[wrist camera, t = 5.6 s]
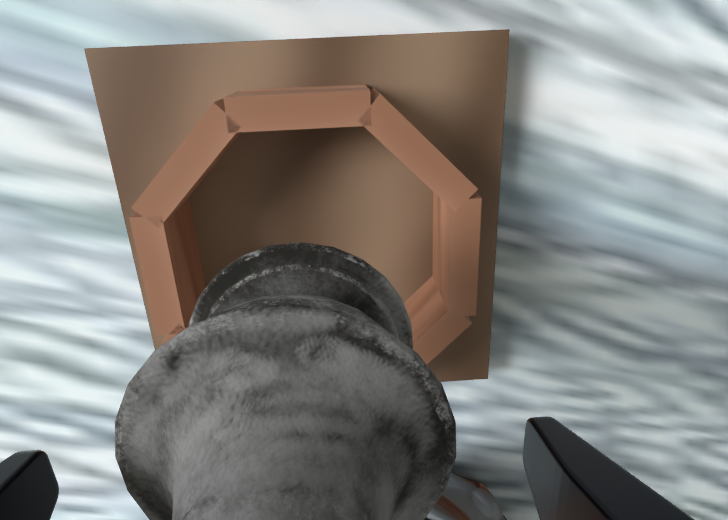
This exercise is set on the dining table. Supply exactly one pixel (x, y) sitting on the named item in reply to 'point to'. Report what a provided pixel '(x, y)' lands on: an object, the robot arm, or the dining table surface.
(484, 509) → the lucky cat figurine
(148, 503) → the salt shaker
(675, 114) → the dining table surface
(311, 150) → the collar board
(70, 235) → the dining table surface
